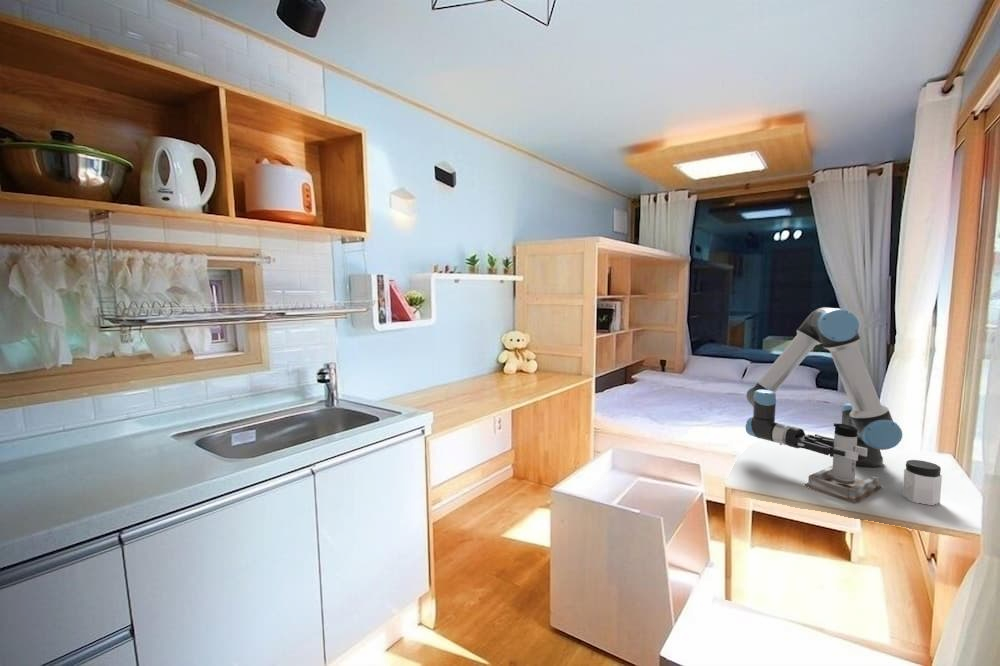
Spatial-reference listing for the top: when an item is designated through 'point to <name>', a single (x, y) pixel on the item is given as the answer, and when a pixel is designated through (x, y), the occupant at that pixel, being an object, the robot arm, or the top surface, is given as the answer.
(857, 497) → the tray
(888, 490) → the top surface
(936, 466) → the jar
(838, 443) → the travel mug
